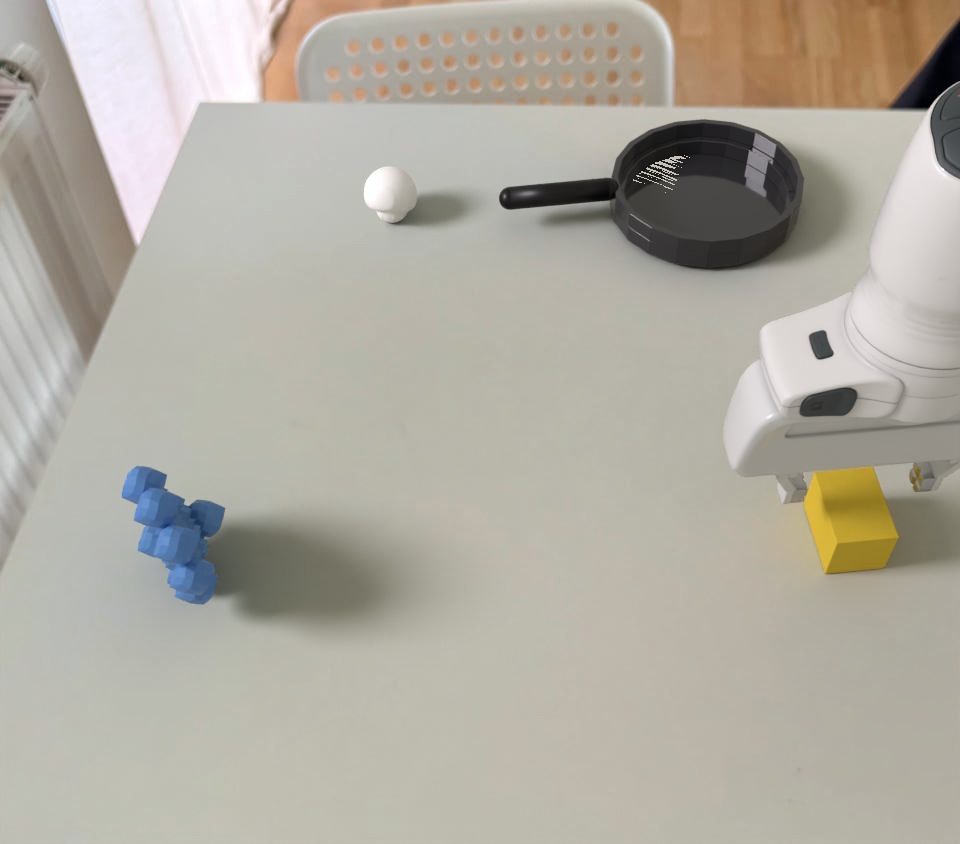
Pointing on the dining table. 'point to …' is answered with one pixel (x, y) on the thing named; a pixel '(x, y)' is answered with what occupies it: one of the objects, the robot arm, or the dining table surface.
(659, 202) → the pan
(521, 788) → the dining table surface
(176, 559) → the grapes
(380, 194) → the mushroom
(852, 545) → the yellow block
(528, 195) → the pan handle
